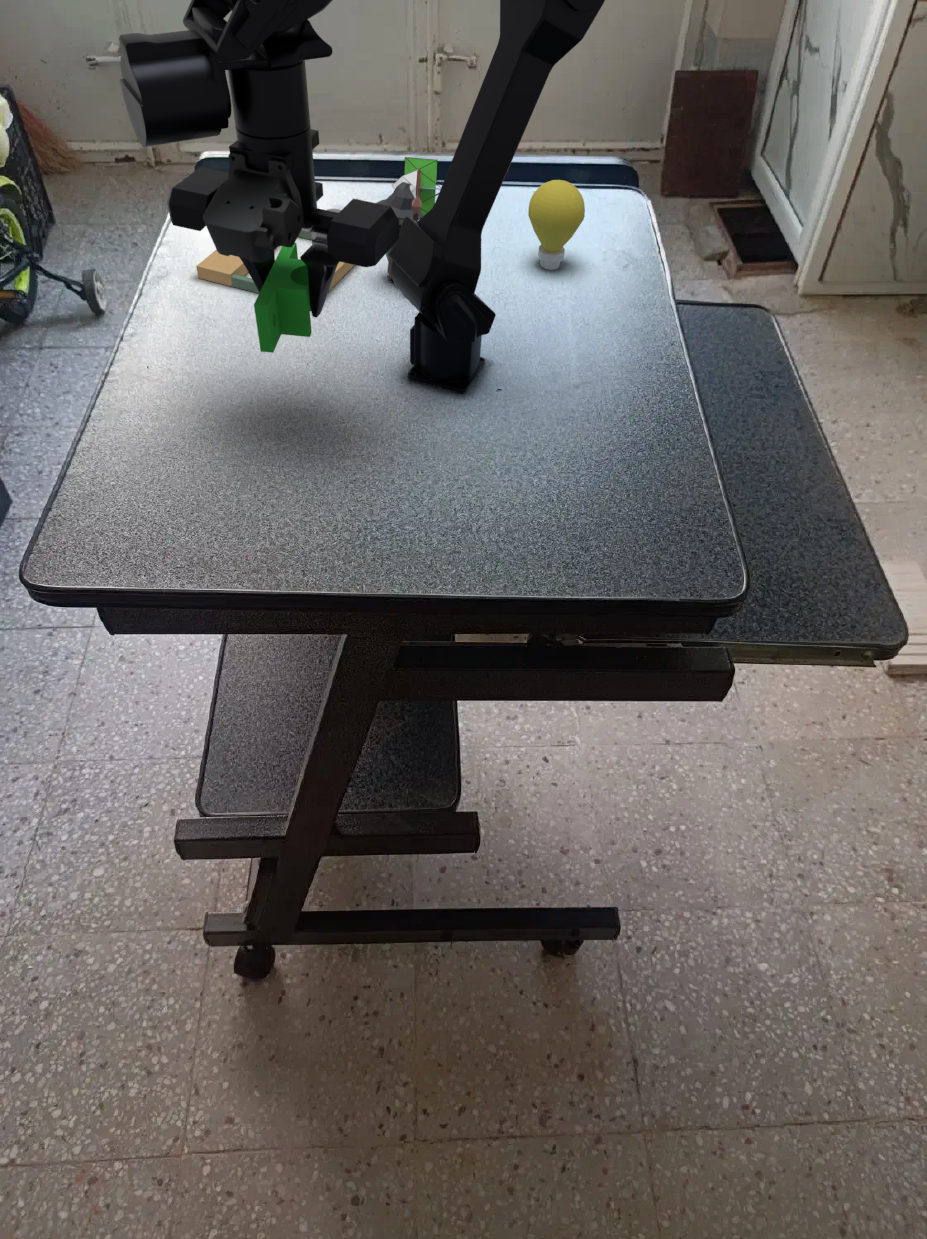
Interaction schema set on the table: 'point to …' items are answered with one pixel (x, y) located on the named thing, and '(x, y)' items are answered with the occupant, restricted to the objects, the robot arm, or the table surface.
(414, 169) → the geometric puzzle
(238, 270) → the square wooden frame
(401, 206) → the wizard figurine
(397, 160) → the table surface
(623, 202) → the table surface
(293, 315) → the pipe clamp
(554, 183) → the light bulb
